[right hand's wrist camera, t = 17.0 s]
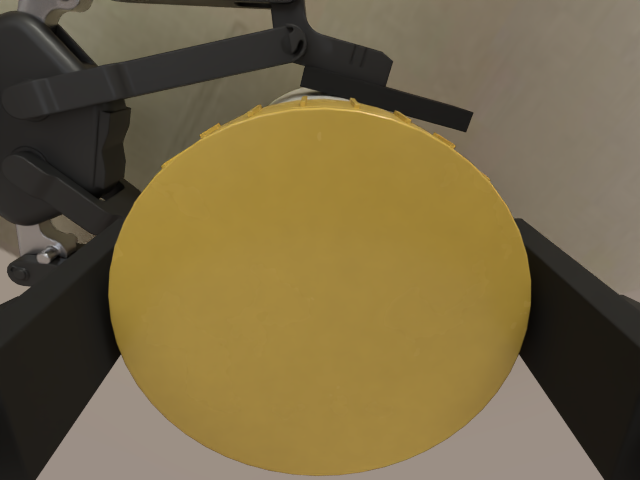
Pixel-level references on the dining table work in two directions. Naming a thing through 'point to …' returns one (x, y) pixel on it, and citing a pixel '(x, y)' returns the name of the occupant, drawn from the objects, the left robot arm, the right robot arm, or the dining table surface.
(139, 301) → the lid
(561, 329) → the right robot arm
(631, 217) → the dining table surface
